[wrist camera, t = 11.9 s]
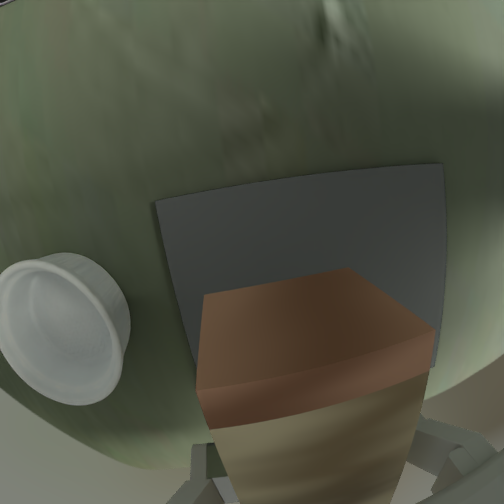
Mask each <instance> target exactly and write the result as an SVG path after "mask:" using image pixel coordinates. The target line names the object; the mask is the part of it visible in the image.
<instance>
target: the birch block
mask: <svg viewBox="0 0 504 504" xmlns="http://www.w3.org/2000/svg"><path fill="white" fill-rule="evenodd" d="M435 331H436V330H435V329H434V328H433V327H431V326H430V325H429V324H427V323H426V322H424V321H423V320H422V319H420V318H419V317H418V316H416V315H415V314H414V313H412V312H411V311H410V310H408V309H407V308H405V307H404V306H403V305H401V304H400V303H398V302H397V301H396V300H394V299H393V298H392V297H390V296H389V295H387V294H386V293H385V292H383V291H382V290H380V289H379V288H377V287H376V286H375V285H373V284H372V283H370V282H369V281H368V280H366V279H365V278H363V277H362V276H360V275H359V274H357V273H356V272H355V271H353V270H352V269H350V268H349V267H347V268H342V269H337V270H332V271H328V272H323V273H318V274H313V275H308V276H303V277H298V278H293V279H288V280H282V281H277V282H272V283H267V284H261V285H256V286H251V287H245V288H240V289H234V290H229V291H223V292H217V293H211V294H206V295H204V300H203V310H202V320H201V330H200V341H199V352H198V364H197V377H196V390H195V391H196V394H197V396H198V399H199V402H200V405H201V408H202V411H203V414H204V416H205V419H206V422H207V424H208V427H209V430H210V433H211V435H212V438H213V440H214V443H215V445H216V448H217V451H218V453H219V456H220V458H221V460H222V463H223V465H224V468H225V470H226V472H227V475H228V477H229V479H230V482H231V484H232V486H233V489H234V491H235V493H236V495H237V498H238V500H239V502H240V504H390V502H391V499H392V497H393V494H394V492H395V489H396V487H397V484H398V482H399V479H400V476H401V474H402V471H403V468H404V465H405V462H406V459H407V456H408V453H409V450H410V447H411V444H412V441H413V437H414V434H415V430H416V427H417V423H418V419H419V416H420V412H421V408H422V403H423V399H424V395H425V390H426V385H427V380H428V375H429V370H430V364H431V358H432V352H433V346H434V338H435Z"/></svg>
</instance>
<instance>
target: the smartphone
mask: <svg viewBox="0 0 504 504" xmlns="http://www.w3.org/2000/svg"><path fill="white" fill-rule="evenodd" d="M12 1H14V0H0V5H5V4H7V3H9V2H12Z"/></svg>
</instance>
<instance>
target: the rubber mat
mask: <svg viewBox="0 0 504 504" xmlns="http://www.w3.org/2000/svg"><path fill="white" fill-rule="evenodd" d="M155 204H156V210H157V215H158V220H159V225H160V229H161V234H162V239H163V243H164V248H165V253H166V257H167V261H168V266H169V270H170V274H171V278H172V282H173V286H174V290H175V294H176V298H177V302H178V306H179V310H180V313H181V317H182V321H183V324H184V328H185V332H186V335H187V339H188V342H189V346H190V349H191V352H192V356H193V359H194V362H195V366H196V369H197V364H198V352H199V341H200V330H201V320H202V310H203V300H204V295H206V294H211V293H217V292H223V291H229V290H234V289H240V288H245V287H251V286H256V285H261V284H267V283H272V282H277V281H282V280H288V279H293V278H298V277H303V276H308V275H313V274H318V273H323V272H328V271H332V270H337V269H342V268H347V267H349V268H350V269H352V270H353V271H355V272H356V273H357V274H359V275H360V276H362V277H363V278H365V279H366V280H368V281H369V282H370V283H372V284H373V285H375V286H376V287H377V288H379V289H380V290H382V291H383V292H385V293H386V294H387V295H389V296H390V297H392V298H393V299H394V300H396V301H397V302H398V303H400V304H401V305H403V306H404V307H405V308H407V309H408V310H410V311H411V312H412V313H414V314H415V315H416V316H418V317H419V318H420V319H422V320H423V321H424V322H426V323H427V324H429V325H430V326H431V327H433V328H434V329H435V330H436V331H435V338H434V346H433V352H432V358H431V364H430V368H432V367H434V366H435V361H436V355H437V349H438V343H439V336H440V329H441V321H442V313H443V303H444V291H445V277H446V252H447V221H446V196H445V181H444V170H443V163H434V164H417V165H402V166H389V167H377V168H366V169H356V170H346V171H337V172H328V173H320V174H311V175H304V176H296V177H289V178H282V179H275V180H268V181H261V182H255V183H249V184H243V185H236V186H231V187H225V188H219V189H213V190H208V191H203V192H197V193H192V194H187V195H182V196H177V197H172V198H167V199H162V200H157V201H155Z"/></svg>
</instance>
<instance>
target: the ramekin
mask: <svg viewBox="0 0 504 504" xmlns="http://www.w3.org/2000/svg"><path fill="white" fill-rule="evenodd" d="M130 323H131V320H130V312H129V308H128V304H127V302H126V299H125V297H124V294H123V293H122V291H121V289H120V287H119V286H118V284H117V283H116V282H115V280H114V279H113V278H112V277H111V276H110V275H109V273H108V272H107V271H106V270H104V269H103V268H102V267H101V266H100V265H98V264H97V263H96V262H94V261H93V260H91V259H89V258H87V257H85V256H82V255H79V254H74V253H65V252H63V253H55V254H52V255H48V256H45V257H42V258H39V259H31V260H24V261H20V262H17V263H15V264H13V265H11V266H9V267H8V268H7V269H5V270H4V271H3V272H2V273H1V274H0V349H1V352H2V353H3V355H4V357H5V359H6V360H7V361H8V363H9V364H10V366H11V367H12V368H13V370H14V371H15V372H16V373H17V374H18V375H19V377H20V378H21V379H22V380H23V381H25V382H26V383H27V384H28V385H29V386H30V387H32V388H33V389H34V390H36V391H37V392H39V393H40V394H42V395H44V396H46V397H48V398H50V399H52V400H54V401H57V402H61V403H64V404H69V405H75V406H76V405H89V404H93V403H96V402H99V401H101V400H103V399H104V398H106V397H107V396H108V395H109V394H110V393H111V392H112V391H113V390H114V388H115V387H116V385H117V384H118V382H119V379H120V376H121V372H122V367H123V356H124V353H125V350H126V347H127V344H128V341H129V336H130V330H131V326H130Z"/></svg>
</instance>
